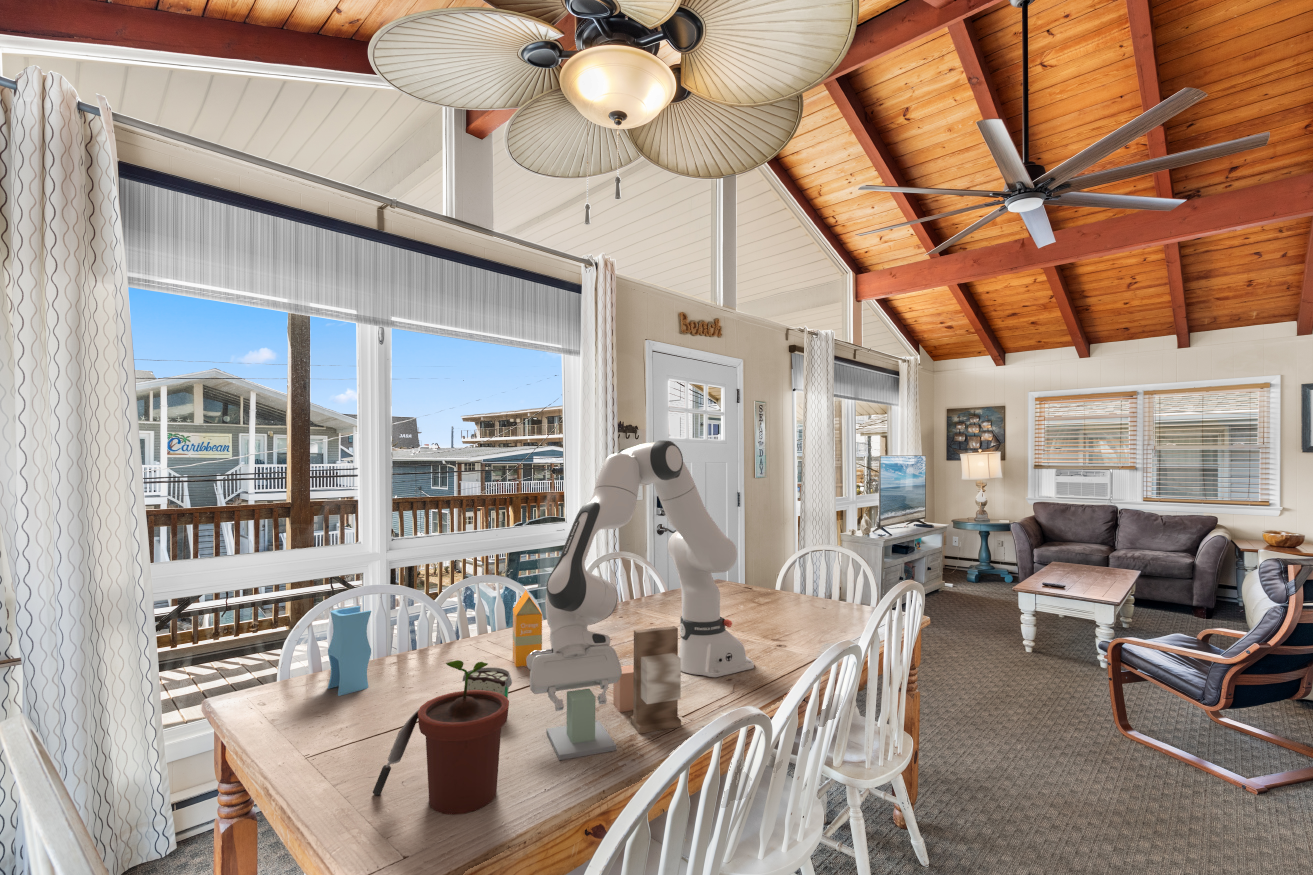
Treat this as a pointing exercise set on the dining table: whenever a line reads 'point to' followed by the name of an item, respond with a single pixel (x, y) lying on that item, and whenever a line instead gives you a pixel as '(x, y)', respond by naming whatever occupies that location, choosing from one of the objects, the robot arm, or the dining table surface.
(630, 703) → the terracotta block
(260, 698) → the dining table surface
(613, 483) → the robot arm
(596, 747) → the grey board
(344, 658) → the vase
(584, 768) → the dining table surface
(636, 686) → the wall stand
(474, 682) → the food container
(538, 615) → the orange juice
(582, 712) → the green block
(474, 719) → the potted plant
